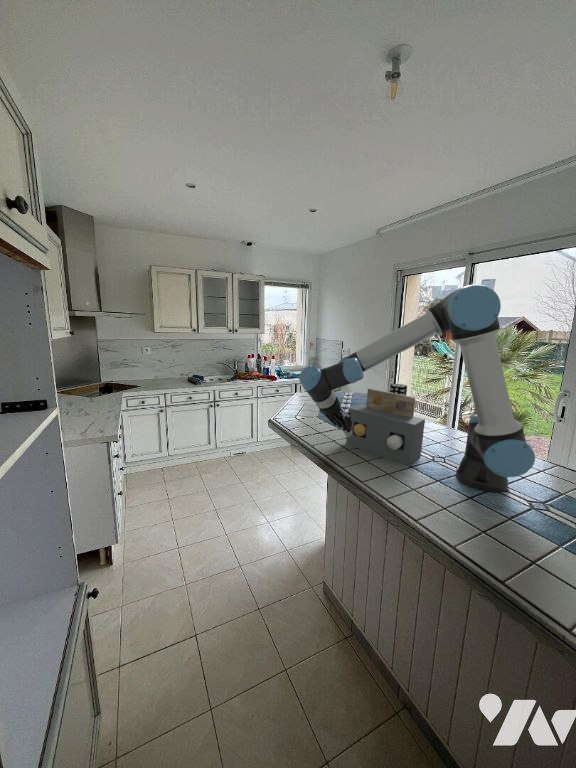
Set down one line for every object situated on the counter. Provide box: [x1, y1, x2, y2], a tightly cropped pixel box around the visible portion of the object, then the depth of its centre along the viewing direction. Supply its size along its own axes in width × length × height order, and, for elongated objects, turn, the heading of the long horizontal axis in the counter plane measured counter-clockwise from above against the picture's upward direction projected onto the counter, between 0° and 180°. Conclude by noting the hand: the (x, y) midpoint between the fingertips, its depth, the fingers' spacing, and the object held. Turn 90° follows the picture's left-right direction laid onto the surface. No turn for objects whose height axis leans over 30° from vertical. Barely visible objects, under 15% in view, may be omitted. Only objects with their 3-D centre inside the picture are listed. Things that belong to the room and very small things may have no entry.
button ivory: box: [387, 434, 404, 450], centre depth 117 cm, size 4×5×5 cm
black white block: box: [389, 383, 408, 396], centre depth 163 cm, size 8×8×20 cm
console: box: [345, 403, 426, 467], centre depth 127 cm, size 10×28×16 cm, turn 46°
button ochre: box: [354, 423, 367, 436], centre depth 130 cm, size 4×5×5 cm
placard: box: [365, 388, 416, 418], centre depth 127 cm, size 1×20×8 cm, turn 46°
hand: (349, 434), depth 124 cm, fingers closed
